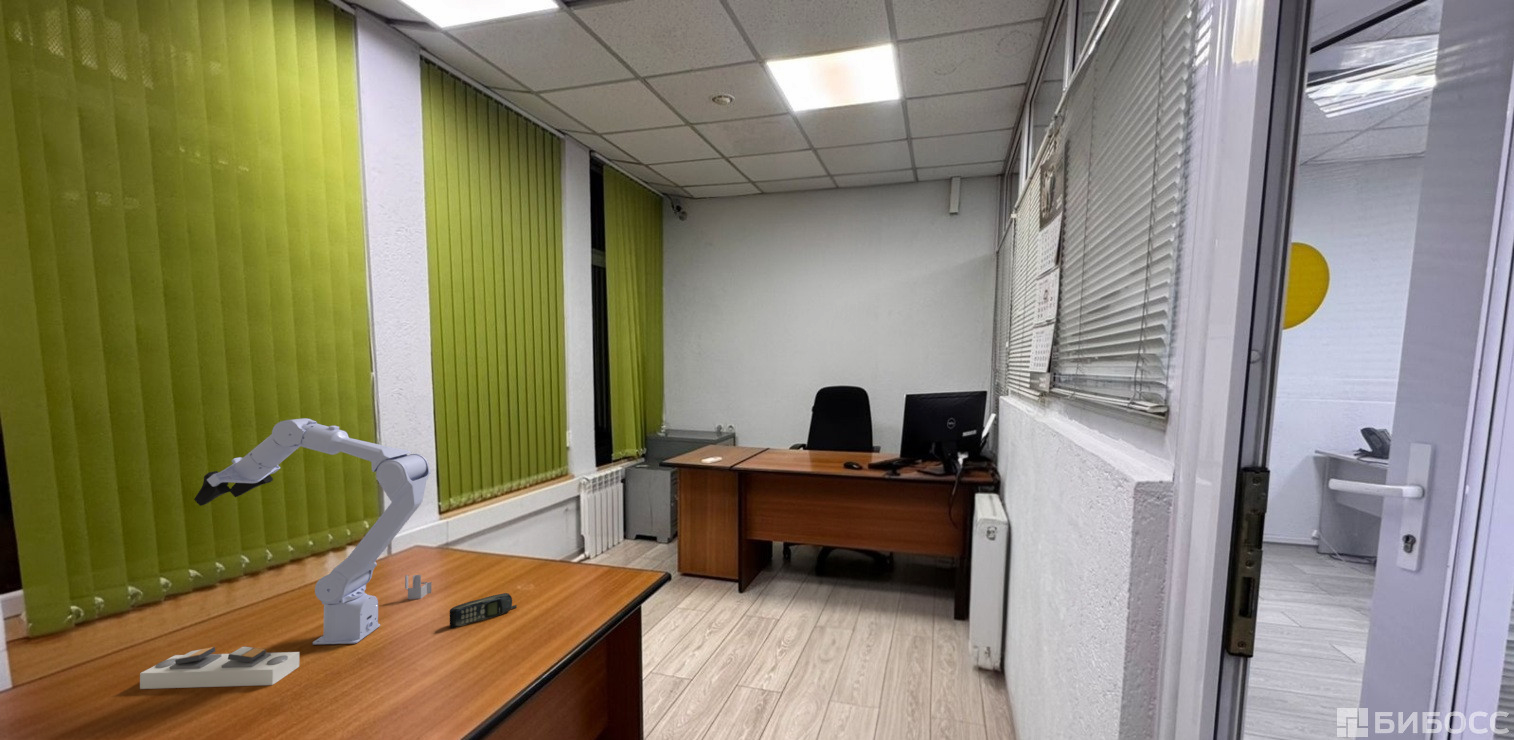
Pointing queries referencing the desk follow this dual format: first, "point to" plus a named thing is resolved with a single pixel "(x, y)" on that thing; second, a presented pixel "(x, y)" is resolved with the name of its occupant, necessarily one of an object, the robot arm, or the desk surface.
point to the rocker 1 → (195, 655)
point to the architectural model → (417, 587)
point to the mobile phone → (480, 609)
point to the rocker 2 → (246, 654)
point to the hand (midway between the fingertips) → (216, 497)
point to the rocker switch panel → (219, 671)
